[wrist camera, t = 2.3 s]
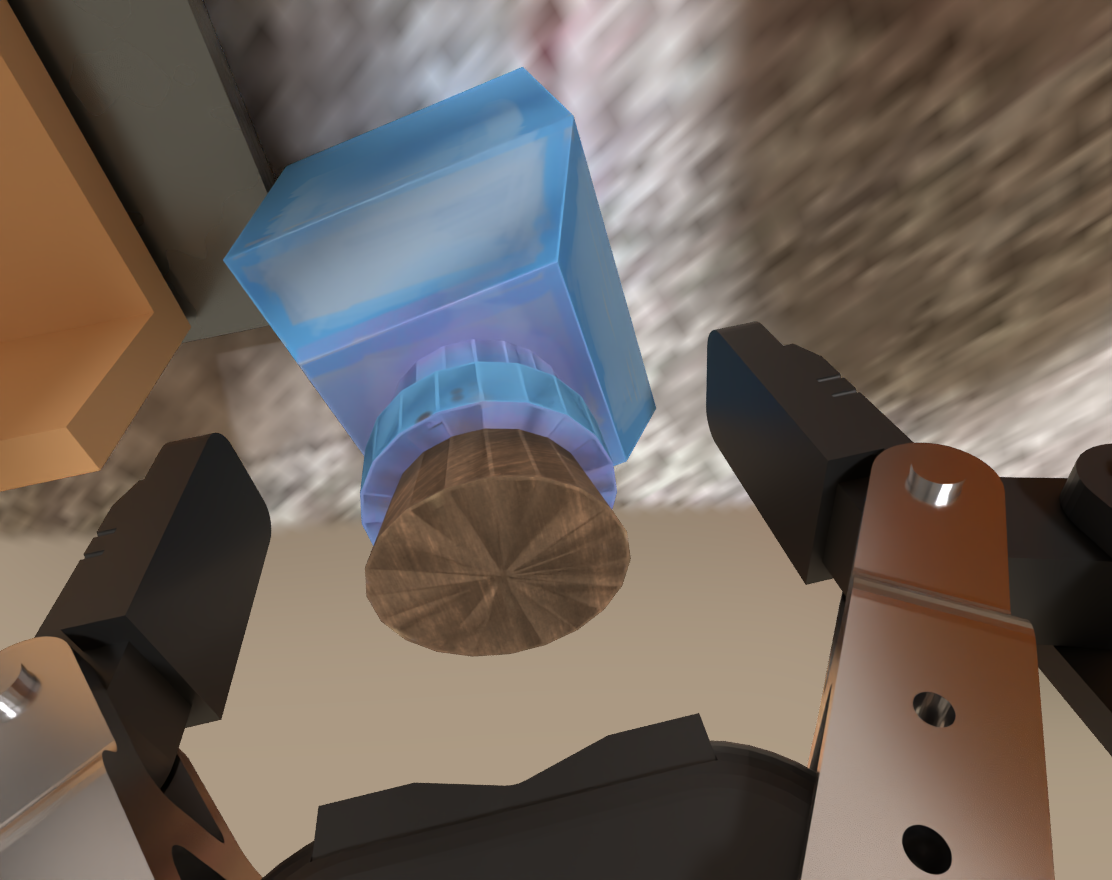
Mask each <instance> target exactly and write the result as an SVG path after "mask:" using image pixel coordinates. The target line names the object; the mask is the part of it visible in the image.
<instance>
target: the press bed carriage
mask: <svg viewBox="0 0 1112 880" xmlns="http://www.w3.org/2000/svg"><path fill="white" fill-rule="evenodd" d="M190 328H191V325H190V324H189V322H188V320H187V318H186V317H185V315H184V313H183V311H182V310H181V308H180V306H179V304H178V302H177V301H176V299H175V297H174V295H173V294H172V292H171V290H170V288H169V287H168V285H167V283H166V281H165V279H164V278H163V276H162V274H161V272H160V271H159V269H158V267H157V265H156V264H155V262H154V260H153V258H152V256H151V255H150V253H149V251H148V249H147V248H146V246H145V244H144V242H143V240H142V239H141V237H140V235H139V233H138V232H137V230H136V228H135V226H134V225H133V223H132V221H131V219H130V217H129V216H128V214H127V212H126V210H125V209H124V207H123V205H122V203H121V202H120V200H119V198H118V196H117V194H116V193H115V191H114V189H113V187H112V186H111V184H110V182H109V180H108V179H107V177H106V175H105V173H104V171H103V170H102V168H101V166H100V164H99V163H98V161H97V159H96V157H95V155H94V154H93V152H92V150H91V148H90V147H89V145H88V143H87V141H86V140H85V138H84V136H83V134H82V132H81V131H80V129H79V127H78V125H77V124H76V122H75V120H74V118H73V117H72V115H71V113H70V111H69V109H68V108H67V106H66V104H65V102H64V101H63V99H62V97H61V95H60V94H59V92H58V90H57V88H56V86H55V85H54V83H53V81H52V79H51V78H50V76H49V74H48V72H47V70H46V69H45V67H44V65H43V63H42V62H41V60H40V58H39V56H38V55H37V53H36V51H35V49H34V47H33V46H32V44H31V42H30V40H29V39H28V37H27V35H26V33H25V32H24V30H23V28H22V26H21V24H20V23H19V21H18V19H17V17H16V16H15V14H14V12H13V10H12V8H11V7H10V5H9V3H8V1H7V0H0V492H1V491H5V490H10V489H15V488H20V487H24V486H29V485H34V484H39V483H43V482H48V481H53V480H58V479H62V478H67V477H72V476H77V475H81V474H86V473H91V472H96V471H100V470H101V469H102V467H103V466H104V464H105V462H106V461H107V459H108V458H109V456H110V455H111V453H112V451H113V450H114V448H115V447H116V445H117V444H118V442H119V440H120V439H121V437H122V436H123V434H124V432H125V431H126V429H127V428H128V426H129V425H130V423H131V421H132V420H133V418H134V417H135V415H136V414H137V412H138V410H139V409H140V407H141V406H142V404H143V402H144V401H145V399H146V398H147V396H148V395H149V393H150V391H151V390H152V388H153V387H154V385H155V384H156V382H157V380H158V379H159V377H160V376H161V374H162V372H163V371H164V369H165V368H166V366H167V365H168V363H169V361H170V360H171V358H172V357H173V355H174V353H175V352H176V350H177V349H178V347H179V346H180V344H181V342H182V341H183V339H184V338H185V336H186V335H187V333H188V331H189V330H190Z"/></svg>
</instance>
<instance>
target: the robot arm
mask: <svg viewBox="0 0 1112 880" xmlns="http://www.w3.org/2000/svg"><path fill="white" fill-rule="evenodd" d="M706 412H707V420H708V424H709V428H710V432H711V434H712V437H713V439H714V441H715V443H716V445H717V446H718V448H719V450H720V451H721V453H722V454H723V456H724V457H725V459H726V461H727V462H728V464H729V465H730V467H731V468H732V470H733V471H734V473H735V475H736V476H737V478H738V479H739V481H740V482H741V484H742V486H743V487H744V489H745V490H746V492H747V493H748V495H749V497H750V498H751V500H752V501H753V503H754V504H755V506H756V507H757V509H758V511H759V512H760V514H761V515H762V517H763V518H764V520H765V522H766V523H767V525H768V526H769V528H770V529H771V531H772V533H773V534H774V536H775V537H776V539H777V540H778V542H779V543H780V545H781V547H782V548H783V550H784V551H785V553H786V554H787V556H788V558H789V559H790V561H791V562H792V564H793V565H794V567H795V569H796V570H797V572H798V573H799V575H800V576H801V578H802V579H803V581H804V583H805V584H806V585H807V584H811V583H815V582H820V581H824V580H828V579H832V578H834V580H835V581H836V583H837V584H838V585H839V587H840V588H841V590H842V596H841V600H840V604H839V609H838V615H837V620H836V625H835V630H834V635H833V640H832V646H831V651H830V656H829V661H828V667H827V672H826V677H825V682H824V687H823V693H822V698H821V703H820V709H819V714H818V718H817V723H816V728H815V732H814V737H813V741H812V746H811V751H810V756H809V761H808V765H807V767H805V766H803V765H802V764H800V763H798V762H796V761H793V760H791V759H789V758H786V757H784V756H781V755H779V754H776V753H774V752H771V751H768V750H764V749H761V748H756V747H753V746H750V745H745V744H739V743H732V742H726V741H709V738H708V735H707V733H706V730H705V727H704V725H703V722H702V720H701V717H700V715H699V713H698V714H694V715H690V716H685V717H682V718H677V719H673V720H669V721H665V722H661V723H657V724H653V725H649V726H644V727H640V728H636V729H632V730H628V731H624V732H620V733H616V734H612V735H608V736H606V737H604V738H603V739H601V740H599V741H597V742H595V743H593V744H591V745H590V746H588V747H586V748H584V749H582V750H581V751H579V752H577V753H575V754H573V755H571V756H570V757H568V758H566V759H564V760H562V761H560V762H559V763H557V764H555V765H553V766H551V767H550V768H548V769H546V770H544V771H542V772H540V773H538V774H537V775H535V776H533V777H531V778H530V779H528V780H526V781H523V782H521V783H519V784H516V785H510V786H496V785H495V786H494V785H467V784H438V783H411V784H407V785H403V786H399V787H395V788H391V789H387V790H383V791H379V792H375V793H371V794H366V795H363V796H359V797H354V798H350V799H346V800H342V801H338V802H334V803H330V804H326V805H322V806H319V808H318V816H317V823H316V831H315V839H314V841H313V842H311V843H310V844H308V845H306V846H305V847H303V848H302V849H300V850H299V851H297V852H296V853H294V854H293V855H291V856H290V857H289V858H287V859H286V860H284V861H283V862H281V863H280V864H279V865H278V866H276V867H275V868H274V869H273V870H272V871H270V872H269V873H268V874H267V875H266V876H265V877H262V876H261V875H260V874H259V873H258V872H257V871H256V869H255V868H254V867H253V866H252V864H251V863H250V862H249V861H248V859H247V858H246V856H245V855H244V853H243V852H242V850H241V849H240V847H239V845H238V844H237V842H236V840H235V838H234V837H233V835H232V833H231V831H230V830H229V828H228V826H227V824H226V823H225V821H224V819H223V817H222V816H221V814H220V812H219V811H218V809H217V807H216V805H215V804H214V802H213V800H212V798H211V797H210V795H209V793H208V791H207V790H206V788H205V786H204V784H203V783H202V781H201V779H200V778H199V776H198V774H197V772H196V771H195V769H194V767H193V765H192V764H191V762H190V760H189V758H188V757H187V756H186V755H185V754H184V753H183V752H182V751H181V750H180V749H179V745H180V741H181V739H182V735H183V732H184V729H185V728H187V727H192V726H196V725H200V724H204V723H209V722H213V721H217V720H221V718H222V715H223V711H224V707H225V704H226V700H227V696H228V693H229V689H230V685H231V682H232V678H233V674H234V671H235V667H236V663H237V660H238V656H239V652H240V649H241V645H242V641H243V638H244V634H245V630H246V627H247V623H248V619H249V616H250V612H251V608H252V605H253V601H254V597H255V594H256V590H257V586H258V583H259V579H260V575H261V572H262V568H263V564H264V561H265V557H266V553H267V550H268V546H269V542H270V538H271V521H270V516H269V512H268V509H267V506H266V504H265V502H264V500H263V498H262V497H261V495H260V493H259V491H258V490H257V488H256V486H255V485H254V483H253V481H252V479H251V478H250V476H249V474H248V473H247V471H246V469H245V468H244V466H243V464H242V462H241V461H240V459H239V457H238V456H237V454H236V452H235V450H234V449H233V447H232V445H231V444H230V442H229V441H228V440H227V439H226V438H225V437H224V436H223V435H222V434H219V433H212V434H207V435H203V436H198V437H193V438H188V439H183V440H179V441H174V442H169V443H167V444H165V445H164V446H163V447H162V449H161V450H160V452H159V454H158V456H157V457H156V459H155V461H154V463H153V465H152V466H151V468H150V470H149V472H148V474H147V475H146V477H145V479H144V480H140V481H138V482H137V483H136V484H135V485H134V486H133V487H132V488H131V489H130V490H129V491H128V492H127V493H126V494H125V495H123V496H122V497H121V498H120V499H119V500H118V501H117V502H116V503H115V504H114V505H113V506H112V507H111V509H110V511H109V512H108V514H107V516H106V517H105V519H104V521H103V523H102V524H101V526H100V528H99V529H98V531H97V534H98V537H95V538H93V539H92V541H91V543H90V544H89V546H88V548H87V550H86V551H85V553H84V556H85V559H83V560H80V561H79V563H78V565H77V566H76V568H75V570H74V572H73V573H72V575H71V577H70V578H69V580H68V582H67V583H66V585H65V587H64V588H63V590H62V592H61V593H60V595H59V597H58V599H57V600H56V602H55V604H54V605H53V607H52V609H51V610H50V612H49V614H48V615H47V617H46V619H45V620H44V622H43V624H42V625H41V627H40V629H39V631H38V632H37V634H36V636H35V637H34V638H32V639H29V640H25V641H22V642H19V643H17V644H14V645H12V646H9V647H8V648H5V649H3V650H1V651H0V880H1055V876H1054V864H1053V850H1052V838H1051V825H1050V813H1049V800H1048V787H1047V775H1046V762H1045V749H1044V738H1043V737H1044V736H1043V724H1042V712H1041V699H1040V687H1039V675H1038V674H1039V673H1038V667H1039V669H1040V670H1041V671H1042V672H1043V673H1044V675H1045V676H1046V677H1047V678H1048V679H1049V681H1050V682H1051V683H1052V684H1053V686H1054V687H1055V688H1056V689H1057V690H1058V692H1059V693H1060V694H1061V695H1062V697H1063V698H1064V699H1065V700H1066V701H1067V702H1068V704H1069V705H1070V706H1071V707H1072V709H1073V710H1074V711H1075V712H1076V713H1077V715H1078V716H1079V717H1080V718H1081V720H1082V721H1083V722H1084V723H1085V724H1086V726H1087V727H1088V728H1089V729H1090V731H1091V732H1092V733H1093V734H1094V735H1095V737H1096V738H1097V739H1098V740H1099V741H1100V743H1101V744H1102V745H1103V746H1104V748H1105V749H1106V750H1107V751H1108V752H1109V754H1110V755H1111V756H1112V444H1104V445H1099V446H1095V447H1092V448H1090V449H1088V450H1086V451H1085V452H1083V453H1082V454H1081V455H1080V456H1079V458H1078V459H1077V461H1076V463H1075V465H1074V467H1073V469H1072V471H1071V473H1070V475H1069V477H1068V478H1013V477H999V476H998V475H997V473H996V472H995V471H994V470H993V469H992V468H991V467H990V466H988V465H987V464H986V463H984V462H983V461H982V460H980V459H978V458H977V457H975V456H973V455H971V454H969V453H966V452H964V451H962V450H959V449H956V448H952V447H949V446H945V445H940V444H933V443H914V442H913V441H911V440H910V439H909V438H908V437H907V436H906V435H905V434H904V433H903V432H902V431H901V430H900V429H899V428H898V427H896V426H895V425H894V424H893V423H892V422H891V421H890V420H889V419H888V418H887V417H886V416H885V415H884V414H883V413H881V412H880V411H879V410H878V409H877V408H876V407H875V406H874V405H873V404H872V403H871V402H870V401H869V400H868V399H866V398H865V397H864V396H863V395H862V394H861V393H860V392H859V393H857V392H856V388H855V387H854V386H853V385H852V384H850V383H849V382H848V381H847V380H846V379H845V378H841V377H840V373H839V372H838V371H837V370H835V369H834V368H833V367H832V366H831V365H830V364H829V363H828V362H827V361H826V360H825V359H824V358H823V357H822V356H819V355H817V354H815V353H813V352H810V351H808V350H806V349H804V348H801V347H799V346H797V345H795V344H790V345H785V346H783V345H782V344H781V343H780V342H779V341H778V340H777V339H776V338H775V337H774V336H773V335H772V334H771V333H770V332H769V331H768V330H767V329H766V328H765V327H764V326H763V325H762V324H760V323H759V322H750V323H746V324H741V325H736V326H731V327H726V328H722V329H717V330H713V331H711V332H710V334H709V337H708V344H707V392H706Z"/></svg>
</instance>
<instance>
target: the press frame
mask: <svg viewBox="0 0 1112 880" xmlns="http://www.w3.org/2000/svg"><path fill="white" fill-rule="evenodd" d="M7 1H8V3H9V5H10V7H11V8H12V10H13V12H14V14H15V16H16V17H17V19H18V21H19V23H20V24H21V26H22V28H23V30H24V32H25V33H26V35H27V37H28V39H29V40H30V42H31V44H32V46H33V47H34V49H35V51H36V53H37V55H38V56H39V58H40V60H41V62H42V63H43V65H44V67H45V69H46V70H47V72H48V74H49V76H50V78H51V79H52V81H53V83H54V85H55V86H56V88H57V90H58V92H59V94H60V95H61V97H62V99H63V101H64V102H65V104H66V106H67V108H68V109H69V111H70V113H71V115H72V117H73V118H74V120H75V122H76V124H77V125H78V127H79V129H80V131H81V132H82V134H83V136H84V138H85V140H86V141H87V143H88V145H89V147H90V148H91V150H92V152H93V154H94V155H95V157H96V159H97V161H98V163H99V164H100V166H101V168H102V170H103V171H104V173H105V175H106V177H107V179H108V180H109V182H110V184H111V186H112V187H113V189H114V191H115V193H116V194H117V196H118V198H119V200H120V202H121V203H122V205H123V207H124V209H125V210H126V212H127V214H128V216H129V217H130V219H131V221H132V223H133V225H134V226H135V228H136V230H137V232H138V233H139V235H140V237H141V239H142V240H143V242H144V244H145V246H146V248H147V249H148V251H149V253H150V255H151V256H152V258H153V260H154V262H155V264H156V265H157V267H158V269H159V271H160V272H161V274H162V276H163V278H164V279H165V281H166V283H167V285H168V287H169V288H170V290H171V292H172V294H173V295H174V297H175V299H176V301H177V302H178V304H179V306H180V308H181V310H182V311H183V313H184V315H185V317H186V318H187V320H188V322H189V324H190V325H191V328H190V330H189V331H188V333H187V335H186V336H185V338H184V339H183V341H182V342H181V343H185V342H190V341H195V340H200V339H205V338H210V337H215V336H220V335H225V334H230V333H235V332H240V331H245V330H250V329H255V328H260V327H264V326H269V323H268V322H267V321H266V319H265V318H264V316H263V315H262V314H261V312H260V311H259V309H258V308H257V307H256V305H255V304H254V303H253V301H252V300H251V298H250V297H249V296H248V294H247V293H246V291H245V290H244V289H243V287H242V286H241V284H240V283H239V282H238V280H237V279H236V278H235V276H234V275H233V273H232V272H231V271H230V269H229V268H228V266H227V265H226V264H225V262H224V261H223V259H224V258H225V256H226V255H227V253H228V252H229V250H230V249H231V247H232V246H233V244H234V243H235V241H236V240H237V238H238V237H239V235H240V234H241V233H242V231H243V230H244V228H245V227H246V225H247V224H248V222H249V221H250V219H251V218H252V216H253V215H254V213H255V212H256V210H257V209H258V207H259V206H260V204H261V203H262V201H263V200H264V198H265V197H266V195H267V194H268V192H269V191H270V190H271V188H272V187H273V185H274V184H275V180H274V177H273V175H272V172H271V170H270V167H269V165H268V162H267V160H266V157H265V155H264V152H263V150H262V147H261V145H260V142H259V140H258V138H257V135H256V133H255V130H254V128H253V125H252V123H251V120H250V118H249V115H248V113H247V110H246V108H245V105H244V103H243V100H242V98H241V95H240V93H239V90H238V88H237V85H236V83H235V80H234V78H233V75H232V73H231V70H230V68H229V65H228V63H227V60H226V58H225V56H224V53H223V51H222V48H221V46H220V43H219V41H218V38H217V36H216V33H215V31H214V28H213V26H212V23H211V21H210V18H209V16H208V13H207V11H206V8H205V6H204V3H203V1H202V0H7Z"/></svg>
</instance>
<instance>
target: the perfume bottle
mask: <svg viewBox="0 0 1112 880" xmlns="http://www.w3.org/2000/svg"><path fill="white" fill-rule="evenodd" d="M223 261H224V262H225V264H226V265H227V266H228V268H229V269H230V271H231V272H232V273H233V275H234V276H235V278H236V279H237V280H238V282H239V283H240V284H241V286H242V287H243V289H244V290H245V291H246V293H247V294H248V296H249V297H250V298H251V300H252V301H253V303H254V304H255V305H256V307H257V308H258V309H259V311H260V312H261V314H262V315H263V316H264V318H265V319H266V321H267V322H268V323H269V325H270V326H271V327H272V329H273V330H274V332H275V333H276V334H277V336H278V337H279V339H280V340H281V341H282V343H283V344H284V346H285V347H286V348H287V350H288V351H289V352H290V354H291V355H292V357H293V358H294V359H295V361H296V362H297V364H298V365H299V366H300V368H301V369H302V371H303V372H304V373H305V375H306V376H307V377H308V379H309V380H310V382H311V383H312V384H313V386H314V387H315V389H316V390H317V391H318V393H319V394H320V395H321V397H322V398H323V400H324V401H325V402H326V404H327V405H328V407H329V408H330V409H331V411H332V412H333V414H334V415H335V416H336V418H337V419H338V420H339V422H340V423H341V425H342V426H343V427H344V429H345V430H346V432H347V433H348V434H349V436H350V437H351V438H352V440H353V441H354V443H355V444H356V445H357V447H358V448H359V450H360V451H361V452H362V454H363V455H364V464H363V473H362V482H361V490H360V499H361V518H362V525H363V527H364V529H365V531H366V533H367V535H368V536H369V538H370V540H371V542H372V544H373V549H372V551H371V554H370V556H369V559H368V561H367V564H366V567H365V574H366V593H367V598H368V600H369V601H370V603H371V605H372V606H373V608H374V610H375V612H376V613H377V615H378V617H379V618H380V620H381V622H383V623H384V624H386V625H387V626H388V627H389V628H391V629H392V630H393V631H395V632H396V633H397V634H399V635H400V636H401V637H402V638H404V639H405V640H407V641H410V642H413V643H415V644H418V645H420V646H423V647H426V648H429V649H431V650H434V651H436V652H443V653H451V654H459V655H467V656H487V655H502V654H511V653H516V652H520V651H523V650H527V649H531V648H535V647H539V646H543V645H546V644H548V643H551V642H552V641H555V640H557V639H559V638H561V637H563V636H565V635H568V634H570V633H572V632H574V631H576V630H578V629H579V628H581V627H582V626H583V625H585V624H586V623H587V622H588V621H590V620H591V619H592V618H594V617H595V616H596V615H598V614H599V613H600V612H602V611H603V610H604V609H605V608H606V606H607V605H608V604H609V602H610V601H611V600H612V598H613V597H614V596H615V594H616V593H617V592H618V590H619V589H620V588H621V587H622V585H623V582H624V578H625V575H626V572H627V569H628V566H629V563H630V559H631V558H630V550H629V543H628V536H627V531H626V530H625V528H624V527H623V525H622V524H621V522H620V521H619V519H618V518H617V516H616V515H615V514H614V512H613V511H612V508H613V505H614V501H615V497H616V494H617V488H616V481H615V473H614V466H615V465H618V464H621V463H623V462H626V461H627V460H628V458H629V456H630V454H631V453H632V451H633V449H634V447H635V445H636V444H637V442H638V440H639V438H640V436H641V435H642V433H643V431H644V429H645V427H646V426H647V424H648V422H649V420H650V419H651V417H652V415H653V413H654V411H655V410H656V406H655V402H654V399H653V395H652V392H651V388H650V385H649V381H648V378H647V374H646V370H645V367H644V363H643V360H642V356H641V353H640V349H639V346H638V342H637V339H636V335H635V332H634V328H633V324H632V321H631V317H630V314H629V310H628V307H627V303H626V300H625V296H624V293H623V289H622V286H621V282H620V278H619V275H618V271H617V268H616V264H615V261H614V257H613V254H612V250H611V247H610V243H609V240H608V236H607V233H606V229H605V225H604V222H603V218H602V215H601V211H600V208H599V204H598V201H597V197H596V194H595V190H594V187H593V183H592V179H591V176H590V172H589V169H588V165H587V162H586V158H585V155H584V151H583V148H582V144H581V141H580V137H579V134H578V130H577V126H576V123H575V119H574V116H573V115H572V114H571V113H570V112H569V111H568V110H567V109H566V108H565V107H564V106H563V105H562V104H561V103H560V102H559V101H558V100H557V99H556V98H555V97H554V96H553V95H551V94H550V93H549V92H548V91H547V90H546V89H545V88H544V87H543V86H542V85H541V84H540V83H539V82H538V81H537V80H536V79H535V78H534V77H533V76H532V75H531V74H530V73H529V72H528V71H527V70H525V69H524V68H523V67H521V68H519V69H516V70H514V71H512V72H509V73H507V74H504V75H502V76H500V77H497V78H495V79H493V80H490V81H488V82H485V83H483V84H481V85H478V86H476V87H474V88H471V89H469V90H466V91H464V92H462V93H459V94H457V95H454V96H452V97H450V98H447V99H445V100H443V101H440V102H438V103H435V104H433V105H431V106H428V107H426V108H424V109H421V110H419V111H416V112H414V113H412V114H409V115H407V116H404V117H402V118H400V119H397V120H395V121H393V122H390V123H388V124H385V125H383V126H381V127H378V128H376V129H374V130H371V131H369V132H366V133H364V134H362V135H359V136H357V137H354V138H352V139H350V140H347V141H345V142H343V143H340V144H338V145H335V146H333V147H331V148H328V149H326V150H324V151H321V152H319V153H316V154H314V155H312V156H309V157H307V158H304V159H302V160H300V161H297V162H295V163H293V164H290V165H288V166H286V167H285V169H284V170H283V172H282V173H281V175H280V176H279V178H278V179H277V181H276V182H275V184H274V185H273V187H272V188H271V190H270V191H269V192H268V194H267V195H266V197H265V198H264V200H263V201H262V203H261V204H260V206H259V207H258V209H257V210H256V212H255V213H254V215H253V216H252V218H251V219H250V221H249V222H248V224H247V225H246V227H245V228H244V230H243V231H242V233H241V234H240V235H239V237H238V238H237V240H236V241H235V243H234V244H233V246H232V247H231V249H230V250H229V252H228V253H227V255H226V256H225V258H224V259H223Z"/></svg>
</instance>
